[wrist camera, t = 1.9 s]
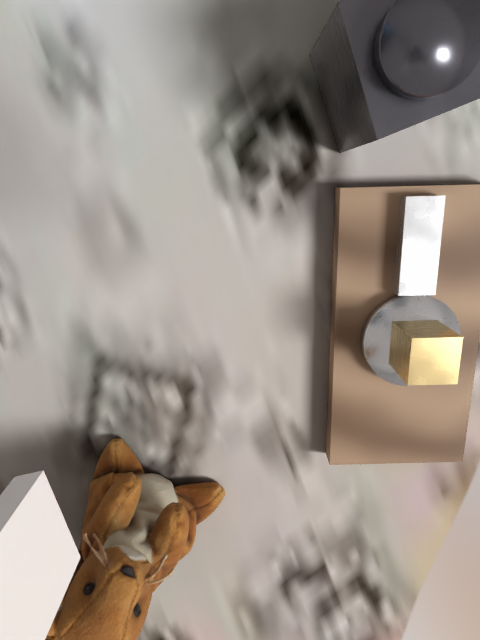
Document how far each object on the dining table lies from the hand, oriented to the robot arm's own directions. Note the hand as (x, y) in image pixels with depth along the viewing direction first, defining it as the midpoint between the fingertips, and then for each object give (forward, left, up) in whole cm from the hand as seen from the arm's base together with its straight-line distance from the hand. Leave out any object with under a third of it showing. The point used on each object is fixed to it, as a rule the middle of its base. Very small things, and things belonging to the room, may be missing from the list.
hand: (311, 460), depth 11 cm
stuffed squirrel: (+19, -11, -21) cm, 30 cm away
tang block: (+4, +10, -21) cm, 24 cm away
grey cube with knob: (-12, +7, -21) cm, 25 cm away
